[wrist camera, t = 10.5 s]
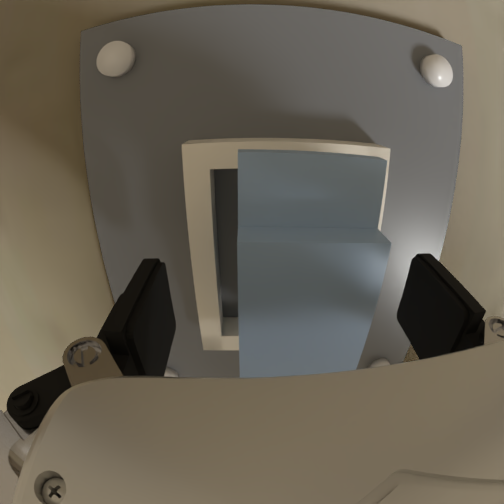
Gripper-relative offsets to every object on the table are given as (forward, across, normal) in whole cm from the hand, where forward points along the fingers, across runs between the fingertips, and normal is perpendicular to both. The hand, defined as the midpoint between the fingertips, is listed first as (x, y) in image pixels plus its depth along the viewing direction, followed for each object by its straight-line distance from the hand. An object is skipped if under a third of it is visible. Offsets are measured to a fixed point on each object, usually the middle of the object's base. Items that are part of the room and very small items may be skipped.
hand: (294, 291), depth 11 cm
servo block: (+4, 0, 0) cm, 4 cm away
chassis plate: (+5, 0, 0) cm, 5 cm away
